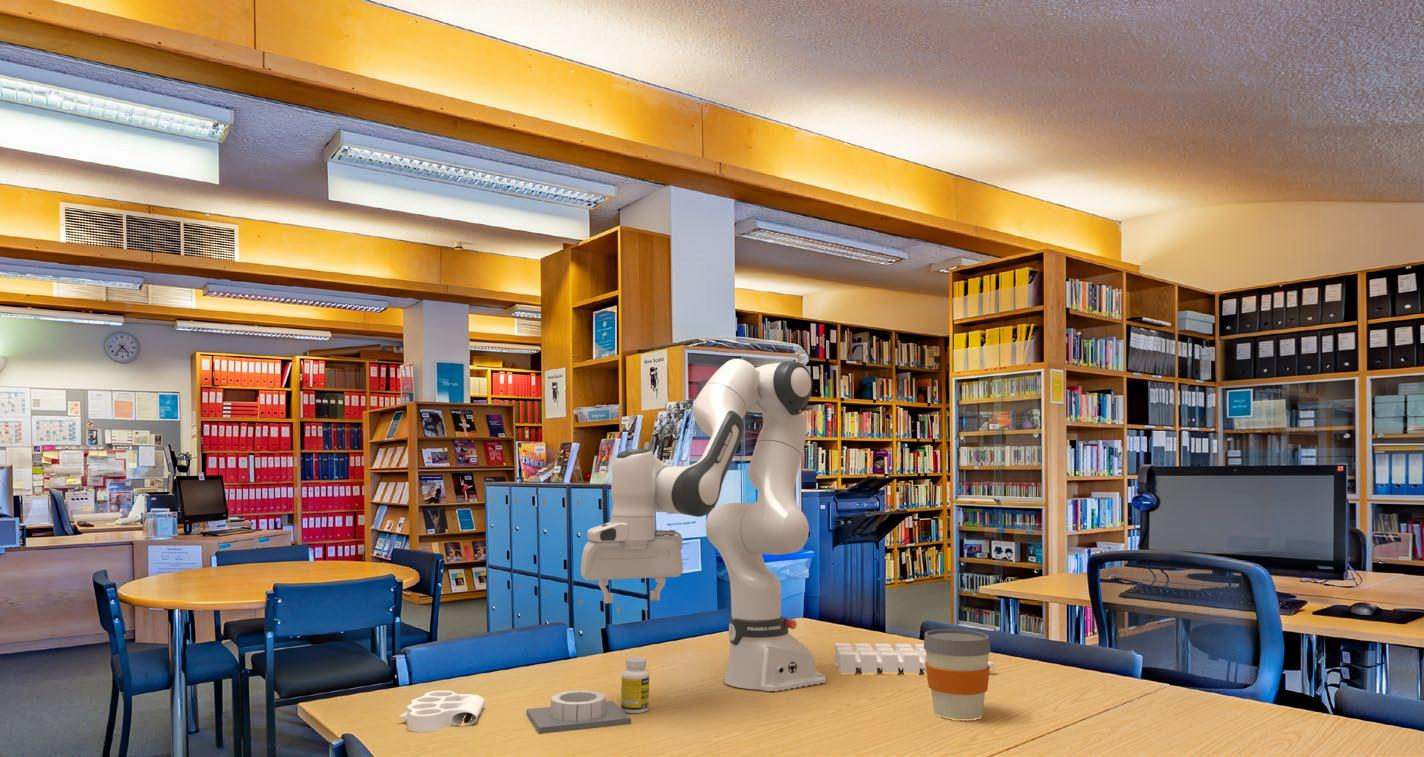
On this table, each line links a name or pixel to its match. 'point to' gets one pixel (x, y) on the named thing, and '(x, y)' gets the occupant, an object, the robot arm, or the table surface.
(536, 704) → the table surface
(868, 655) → the organizer
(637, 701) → the supplement bottle
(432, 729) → the white multi-hole bracket
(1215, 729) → the table surface
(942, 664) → the reusable coffee cup
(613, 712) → the mount plate
